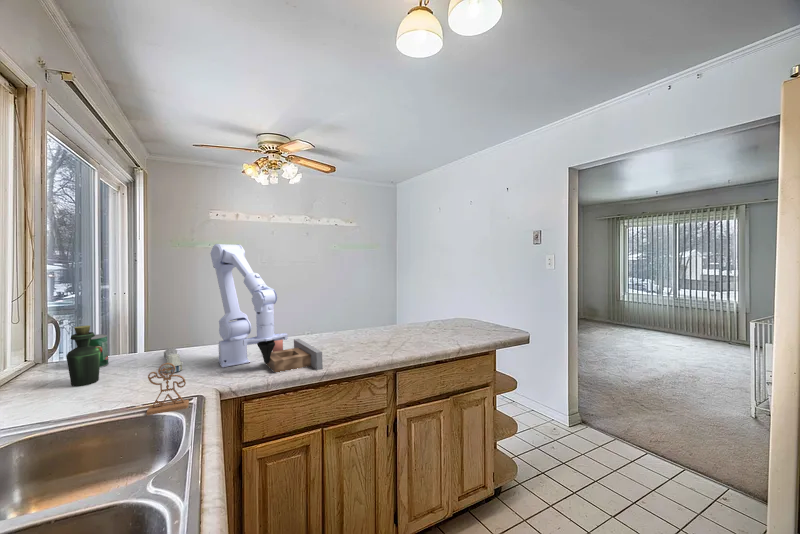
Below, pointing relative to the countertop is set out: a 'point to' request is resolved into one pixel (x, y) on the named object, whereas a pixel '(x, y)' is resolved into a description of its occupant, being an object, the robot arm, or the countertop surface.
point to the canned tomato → (101, 347)
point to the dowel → (278, 345)
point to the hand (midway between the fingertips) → (266, 362)
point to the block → (289, 359)
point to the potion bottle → (83, 358)
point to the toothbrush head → (172, 360)
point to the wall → (315, 353)
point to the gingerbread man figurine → (167, 406)
